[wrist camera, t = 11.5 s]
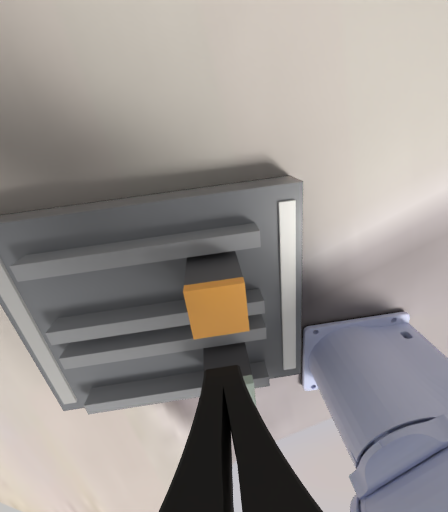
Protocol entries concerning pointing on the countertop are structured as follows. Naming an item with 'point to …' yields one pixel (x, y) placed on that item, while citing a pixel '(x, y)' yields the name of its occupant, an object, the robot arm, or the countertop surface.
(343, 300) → the countertop surface
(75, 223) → the block
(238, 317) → the breaker toggle
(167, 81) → the countertop surface
